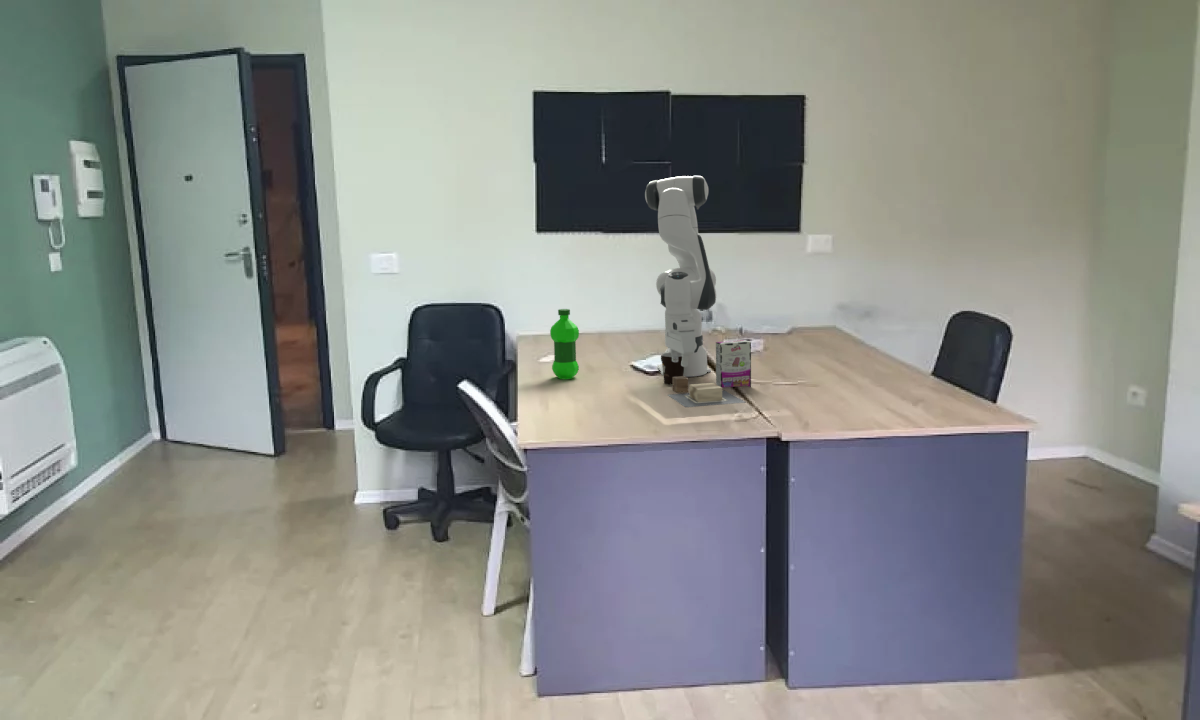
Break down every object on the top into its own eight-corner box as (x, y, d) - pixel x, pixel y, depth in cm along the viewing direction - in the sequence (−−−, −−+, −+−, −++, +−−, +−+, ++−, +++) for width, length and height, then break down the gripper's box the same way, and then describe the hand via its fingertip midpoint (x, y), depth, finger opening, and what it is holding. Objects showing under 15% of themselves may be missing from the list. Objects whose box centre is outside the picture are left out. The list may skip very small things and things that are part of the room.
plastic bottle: (546, 379, 338) (544, 310, 333) (560, 374, 347) (559, 307, 343) (570, 381, 334) (568, 312, 329) (584, 376, 343) (583, 308, 338)
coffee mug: (684, 385, 324) (684, 357, 323) (659, 384, 326) (659, 356, 324) (687, 378, 336) (687, 351, 334) (664, 377, 337) (663, 350, 335)
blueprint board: (666, 399, 304) (666, 394, 304) (724, 394, 309) (724, 390, 309) (685, 411, 287) (685, 406, 287) (746, 407, 292) (746, 402, 292)
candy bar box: (745, 386, 321) (745, 339, 318) (751, 389, 316) (752, 341, 313) (714, 388, 318) (715, 341, 315) (720, 392, 314) (720, 343, 311)
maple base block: (689, 396, 301) (689, 384, 300) (712, 394, 303) (713, 382, 302) (698, 402, 293) (698, 389, 292) (722, 400, 295) (722, 387, 294)
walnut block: (672, 394, 311) (672, 376, 310) (683, 393, 312) (683, 376, 311) (676, 397, 307) (676, 379, 306) (688, 396, 308) (688, 378, 307)
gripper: (659, 319, 314) (660, 360, 317) (679, 326, 295) (680, 369, 297) (677, 318, 316) (678, 358, 318) (698, 325, 296) (699, 368, 298)
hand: (679, 364), depth 307 cm, fingers open, 8 cm apart
